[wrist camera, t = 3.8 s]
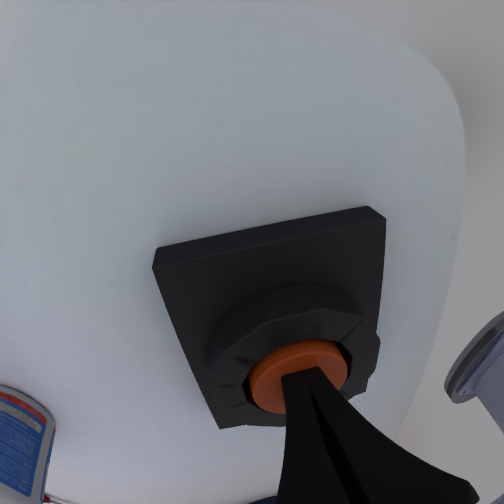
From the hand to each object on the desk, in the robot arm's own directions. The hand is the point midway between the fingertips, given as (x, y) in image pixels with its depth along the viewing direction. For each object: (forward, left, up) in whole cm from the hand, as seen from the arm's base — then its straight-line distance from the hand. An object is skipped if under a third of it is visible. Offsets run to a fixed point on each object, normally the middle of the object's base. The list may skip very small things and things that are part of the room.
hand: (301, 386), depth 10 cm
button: (0, 0, -1) cm, 1 cm away
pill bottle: (+13, +12, -3) cm, 18 cm away
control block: (0, 0, -3) cm, 3 cm away
